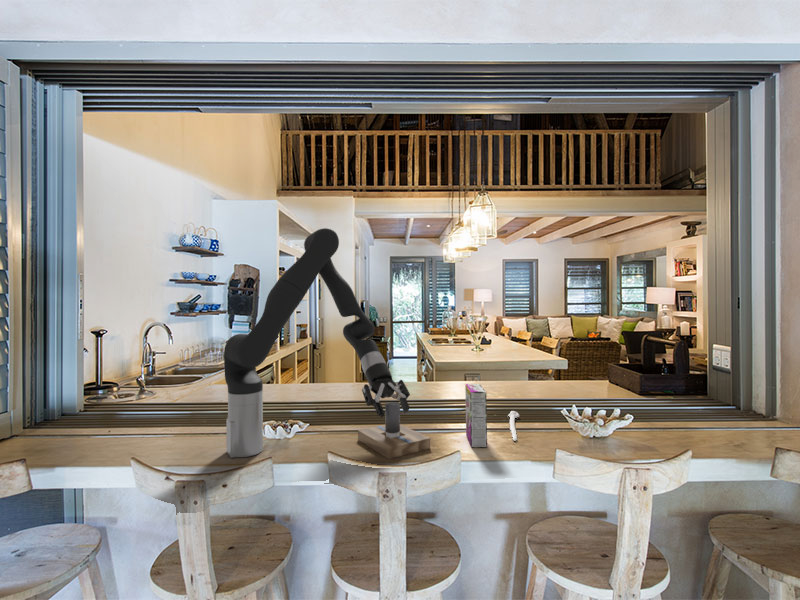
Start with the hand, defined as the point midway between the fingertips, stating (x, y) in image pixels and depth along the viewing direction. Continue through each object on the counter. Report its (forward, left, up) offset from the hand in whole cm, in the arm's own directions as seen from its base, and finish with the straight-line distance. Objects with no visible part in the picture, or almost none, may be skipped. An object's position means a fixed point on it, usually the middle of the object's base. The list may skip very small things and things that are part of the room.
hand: (395, 413), depth 121 cm
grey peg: (0, +1, -9) cm, 10 cm away
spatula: (+42, -9, -10) cm, 44 cm away
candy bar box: (+22, -11, -10) cm, 26 cm away
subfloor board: (0, +1, -9) cm, 9 cm away
